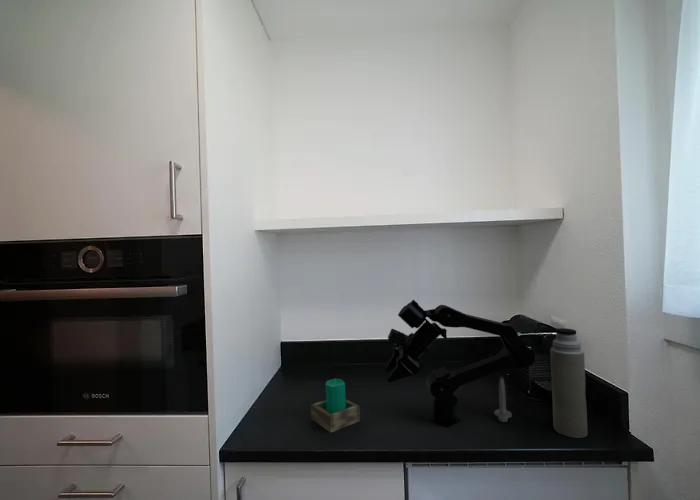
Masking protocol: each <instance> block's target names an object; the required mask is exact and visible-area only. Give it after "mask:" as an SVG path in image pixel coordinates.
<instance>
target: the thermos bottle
mask: <svg viewBox="0 0 700 500" xmlns="http://www.w3.org/2000/svg"><path fill="white" fill-rule="evenodd" d="M555 333H556V334H555V339H553V340H552V347H550V350H549V351H550V371H551V373H550V374H551V376H550V377H551V392H552V393H551V395H552V419H553V420H552V423H553V429H554V430H555V432H557V433H559V434H560V435H563V436H566V437H570V438H575V439H581V438H582V439H583V438H585V437H587V436H588V417H587V416H588V413H587V412H588V411H587V398H586V366H585V351H584V350H582V344H581V342H580V341H579V340H578V339H577V330H575V329H572V328H564V327H563V328H562V327H561V328H555Z"/></svg>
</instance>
